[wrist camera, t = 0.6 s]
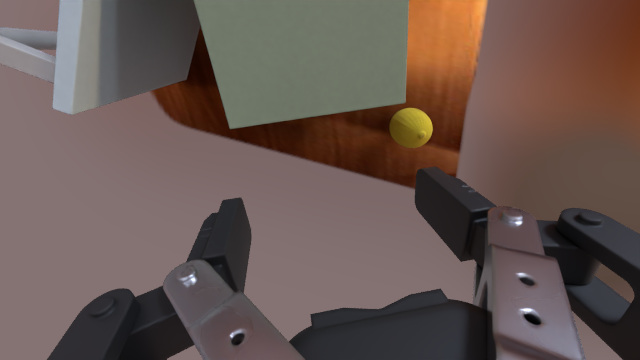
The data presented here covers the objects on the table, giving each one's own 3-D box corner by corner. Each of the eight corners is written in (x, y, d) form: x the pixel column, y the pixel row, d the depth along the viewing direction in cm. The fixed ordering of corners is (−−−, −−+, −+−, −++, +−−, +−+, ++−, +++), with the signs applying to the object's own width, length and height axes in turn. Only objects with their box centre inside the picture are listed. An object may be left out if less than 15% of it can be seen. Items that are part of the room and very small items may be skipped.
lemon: (382, 140, 43) (402, 158, 36) (382, 106, 40) (404, 118, 33) (414, 135, 43) (440, 152, 36) (416, 101, 41) (445, 112, 34)
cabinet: (256, 87, 37) (229, 129, 17) (224, -62, 29) (112, -287, 10) (339, 75, 37) (405, 103, 18) (328, -72, 30) (419, -298, 11)
